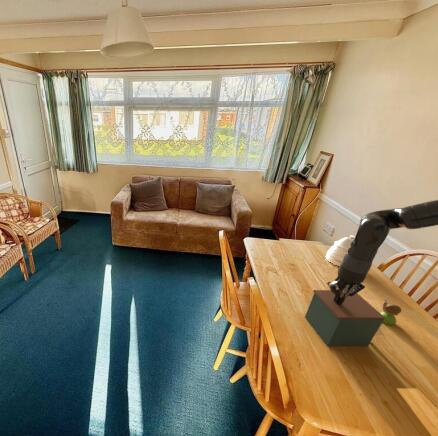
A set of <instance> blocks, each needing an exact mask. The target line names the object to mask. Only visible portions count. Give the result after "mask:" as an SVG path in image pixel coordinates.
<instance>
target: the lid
mask: <svg viewBox="0 0 438 436" xmlns="http://www.w3.org/2000/svg"><path fill="white" fill-rule="evenodd" d="M353 291H354V290H353ZM314 293H315V294H316V295H317V296H318V297H319V299H320V300H321V301H322V302H323V303H324V304H325V305H326V306H327V307H328V308H329V309H330V310H331V311H332V312H333V314H334V315H335V316H336V317H337V318H338V319H385V317H384V316H383V315H382V314H381V312H380V311H378V310H377V309H376V308H375V307H373V306H372V305H371V304H370V303H369V302H367V300H365V299H364V298H363V297H362V296H361V295H360V294H358V293H356V294H355V295H353V296H348V297H347V298H345V300H344V302H343V303H342V304H336V303H335V302H334V297H335V294H334V293H333V292H332V291H331V290H330V289H314V290H313V294H314Z"/></svg>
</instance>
